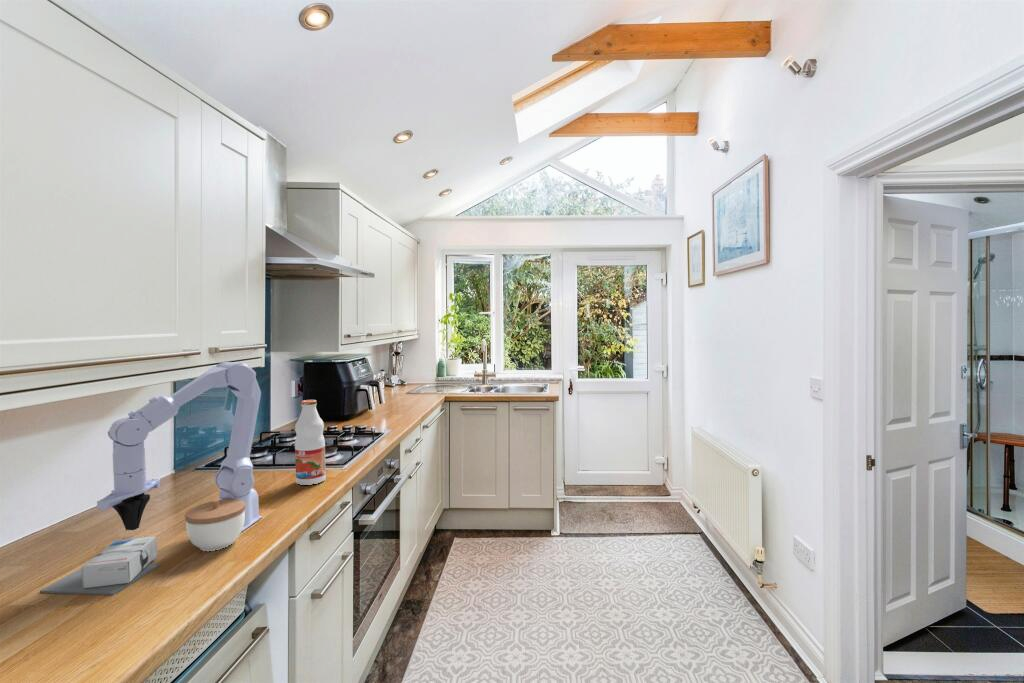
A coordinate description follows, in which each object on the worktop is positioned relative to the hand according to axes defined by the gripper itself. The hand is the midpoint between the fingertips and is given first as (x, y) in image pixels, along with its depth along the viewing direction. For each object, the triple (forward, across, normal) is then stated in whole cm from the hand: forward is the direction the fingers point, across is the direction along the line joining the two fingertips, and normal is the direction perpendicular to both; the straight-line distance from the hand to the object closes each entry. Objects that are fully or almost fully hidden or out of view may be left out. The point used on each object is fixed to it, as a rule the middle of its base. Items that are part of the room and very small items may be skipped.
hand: (132, 528), depth 108 cm
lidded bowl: (+8, -8, +14) cm, 18 cm away
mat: (+7, +8, 0) cm, 11 cm away
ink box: (+4, 0, +1) cm, 5 cm away
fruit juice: (+8, -54, +15) cm, 56 cm away
